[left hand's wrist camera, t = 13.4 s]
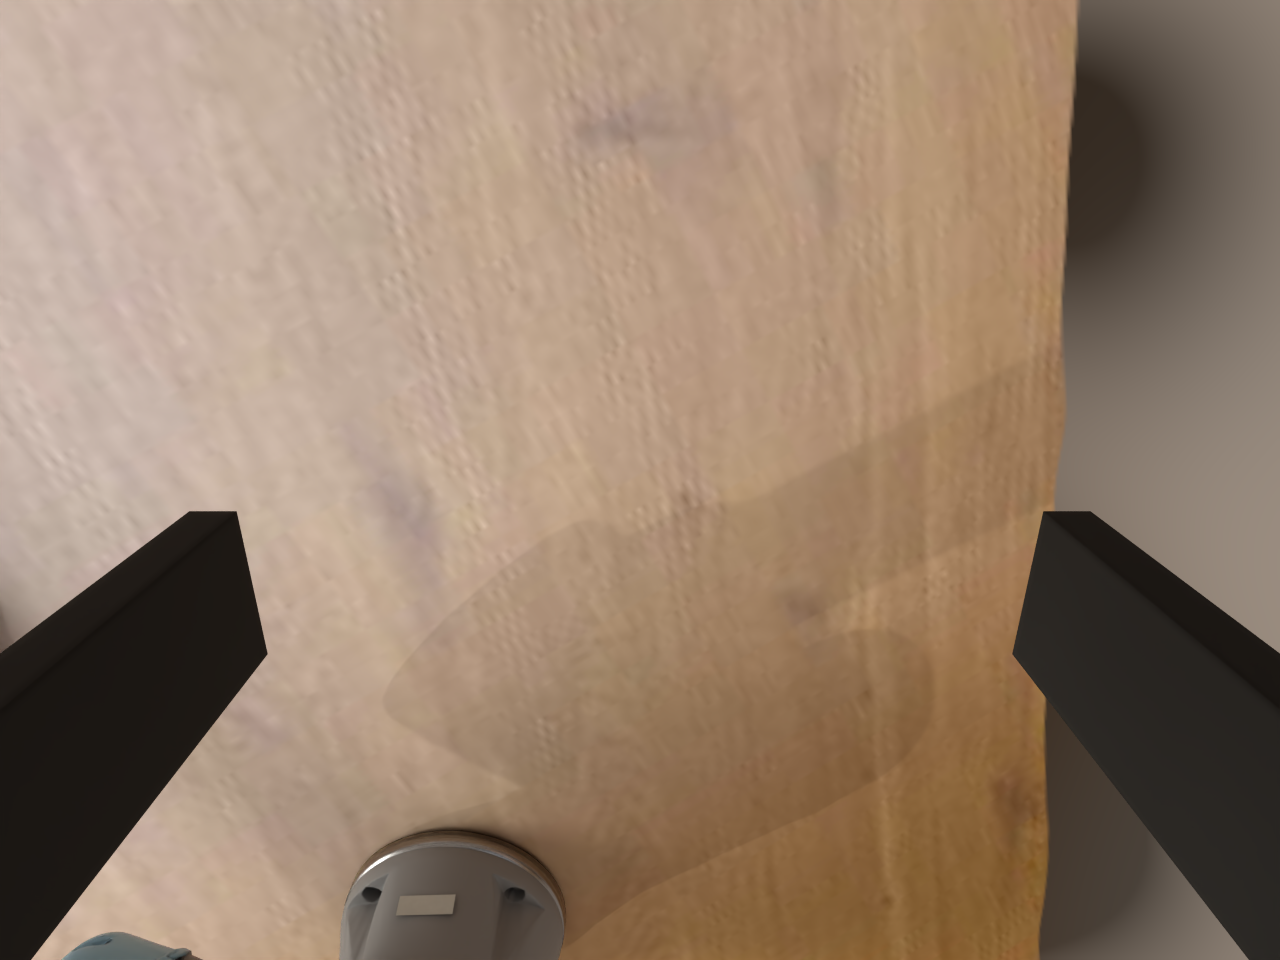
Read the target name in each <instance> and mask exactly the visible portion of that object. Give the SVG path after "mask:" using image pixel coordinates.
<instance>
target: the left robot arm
mask: <svg viewBox="0 0 1280 960" xmlns="http://www.w3.org/2000/svg"><path fill="white" fill-rule="evenodd" d="M266 655H267V649H266V645H265V640H264V635H263V631H262V626H261V622H260V617H259V612H258V608H257V603H256V599H255V594H254V589H253V585H252V580H251V576H250V571H249V566H248V562H247V557H246V553H245V548H244V543H243V539H242V534H241V530H240V525H239V520H238V516H237V511H189V512H188V513H187V514H185V515H184V516H183V517H181V518H180V519H179V520H177V521H176V522H175V523H173V524H172V525H171V526H169V527H168V528H167V529H165V530H164V531H163V532H161V533H160V534H159V535H157V536H156V537H155V538H153V539H152V540H151V541H149V542H148V543H147V544H145V545H144V546H143V547H141V548H140V549H139V550H137V551H136V552H135V553H133V554H132V555H131V556H129V557H128V558H127V559H125V560H124V561H123V562H121V563H120V564H119V565H117V566H116V567H115V568H113V569H112V570H111V571H109V572H108V573H107V574H105V575H104V576H103V577H101V578H100V579H99V580H98V581H96V582H95V583H94V584H92V585H91V586H90V587H88V588H87V589H86V590H84V591H83V592H82V593H80V594H79V595H78V596H76V597H75V598H74V599H72V600H71V601H70V602H68V603H67V604H66V605H64V606H63V607H62V608H60V609H59V610H58V611H56V612H55V613H54V614H52V615H51V616H50V617H48V618H47V619H46V620H44V621H43V622H42V623H40V624H39V625H38V626H36V627H35V628H34V629H32V630H31V631H30V632H28V633H27V634H26V635H24V636H23V637H22V638H20V639H19V640H18V641H16V642H15V643H14V644H12V645H11V646H10V647H8V648H7V649H6V650H4V651H3V652H2V653H0V960H31V959H32V958H33V957H34V955H35V954H36V953H37V951H38V950H39V949H40V947H41V946H42V945H43V944H44V942H45V941H46V940H47V938H48V937H49V936H50V935H51V933H52V932H53V931H54V929H55V928H56V927H57V926H58V924H59V923H60V922H61V920H62V919H63V918H64V916H65V915H66V914H67V913H68V911H69V910H70V909H71V907H72V906H73V905H74V904H75V902H76V901H77V900H78V898H79V897H80V896H81V895H82V893H83V892H84V891H85V889H86V888H87V887H88V885H89V884H90V883H91V882H92V880H93V879H94V878H95V876H96V875H97V874H98V873H99V871H100V870H101V869H102V867H103V866H104V865H105V863H106V862H107V861H108V860H109V858H110V857H111V856H112V854H113V853H114V852H115V851H116V849H117V848H118V847H119V845H120V844H121V843H122V842H123V840H124V839H125V838H126V836H127V835H128V834H129V832H130V831H131V830H132V829H133V827H134V826H135V825H136V823H137V822H138V821H139V820H140V818H141V817H142V816H143V814H144V813H145V812H146V811H147V809H148V808H149V807H150V805H151V804H152V803H153V801H154V800H155V799H156V798H157V796H158V795H159V794H160V792H161V791H162V790H163V789H164V787H165V786H166V785H167V783H168V782H169V781H170V780H171V778H172V777H173V776H174V774H175V773H176V772H177V770H178V769H179V768H180V767H181V765H182V764H183V763H184V761H185V760H186V759H187V758H188V756H189V755H190V754H191V752H192V751H193V750H194V749H195V747H196V746H197V745H198V743H199V742H200V741H201V739H202V738H203V737H204V736H205V734H206V733H207V732H208V730H209V729H210V728H211V727H212V725H213V724H214V723H215V721H216V720H217V719H218V718H219V716H220V715H221V714H222V712H223V711H224V710H225V708H226V707H227V706H228V705H229V703H230V702H231V701H232V699H233V698H234V697H235V696H236V694H237V693H238V692H239V690H240V689H241V688H242V686H243V685H244V684H245V683H246V681H247V680H248V679H249V677H250V676H251V675H252V674H253V672H254V671H255V670H256V668H257V667H258V666H259V665H260V663H261V662H262V661H263V659H264V658H265V657H266ZM1013 655H1014V657H1015V658H1016V659H1017V661H1018V662H1019V663H1020V665H1021V666H1022V667H1023V668H1024V670H1025V671H1026V672H1027V674H1028V675H1029V676H1030V677H1031V679H1032V680H1033V681H1034V683H1035V684H1036V685H1037V686H1038V688H1039V689H1040V690H1041V692H1042V693H1043V694H1044V696H1045V697H1046V698H1047V699H1048V701H1049V702H1050V703H1051V705H1052V706H1053V707H1054V708H1055V710H1056V711H1057V712H1058V714H1059V715H1060V716H1061V718H1062V719H1063V720H1064V721H1065V723H1066V724H1067V725H1068V727H1069V728H1070V729H1071V730H1072V732H1073V733H1074V734H1075V736H1076V737H1077V738H1078V739H1079V741H1080V742H1081V743H1082V745H1083V746H1084V747H1085V749H1086V750H1087V751H1088V752H1089V754H1090V755H1091V756H1092V758H1093V759H1094V760H1095V761H1096V763H1097V764H1098V765H1099V767H1100V768H1101V769H1102V770H1103V772H1104V773H1105V774H1106V776H1107V777H1108V778H1109V779H1110V781H1111V782H1112V783H1113V785H1114V786H1115V787H1116V789H1117V790H1118V791H1119V792H1120V794H1121V795H1122V796H1123V798H1124V799H1125V800H1126V801H1127V803H1128V804H1129V805H1130V807H1131V808H1132V809H1133V811H1134V812H1135V813H1136V814H1137V816H1138V817H1139V818H1140V820H1141V821H1142V822H1143V823H1144V825H1145V826H1146V827H1147V829H1148V830H1149V831H1150V832H1151V834H1152V835H1153V836H1154V838H1155V839H1156V840H1157V842H1158V843H1159V844H1160V845H1161V847H1162V848H1163V849H1164V851H1165V852H1166V853H1167V854H1168V856H1169V857H1170V858H1171V860H1172V861H1173V862H1174V863H1175V865H1176V866H1177V867H1178V869H1179V870H1180V871H1181V872H1182V874H1183V875H1184V876H1185V878H1186V879H1187V880H1188V882H1189V883H1190V884H1191V885H1192V887H1193V888H1194V889H1195V891H1196V892H1197V893H1198V894H1199V896H1200V897H1201V898H1202V900H1203V901H1204V902H1205V904H1206V905H1207V906H1208V907H1209V909H1210V910H1211V911H1212V913H1213V914H1214V915H1215V916H1216V918H1217V919H1218V920H1219V922H1220V923H1221V924H1222V926H1223V927H1224V928H1225V929H1226V931H1227V932H1228V933H1229V935H1230V936H1231V937H1232V938H1233V940H1234V941H1235V942H1236V944H1237V945H1238V946H1239V947H1240V949H1241V950H1242V951H1243V953H1244V954H1245V955H1246V957H1247V958H1248V959H1249V960H1280V653H1278V652H1277V651H1276V650H1274V649H1273V648H1272V647H1270V646H1269V645H1268V644H1266V643H1265V642H1264V641H1262V640H1261V639H1260V638H1258V637H1257V636H1256V635H1254V634H1253V633H1252V632H1250V631H1249V630H1248V629H1246V628H1245V627H1244V626H1242V625H1241V624H1240V623H1238V622H1237V621H1236V620H1234V619H1233V618H1232V617H1230V616H1229V615H1228V614H1226V613H1225V612H1224V611H1222V610H1221V609H1220V608H1218V607H1217V606H1216V605H1214V604H1213V603H1212V602H1210V601H1209V600H1208V599H1206V598H1205V597H1204V596H1202V595H1201V594H1200V593H1198V592H1197V591H1196V590H1194V589H1193V588H1192V587H1190V586H1189V585H1188V584H1186V583H1185V582H1184V581H1182V580H1181V579H1180V578H1178V577H1177V576H1176V575H1175V574H1173V573H1172V572H1170V571H1169V570H1168V569H1167V568H1165V567H1164V566H1163V565H1161V564H1160V563H1159V562H1157V561H1156V560H1155V559H1153V558H1152V557H1150V556H1149V555H1148V554H1146V553H1145V552H1144V551H1143V550H1141V549H1140V548H1139V547H1137V546H1136V545H1135V544H1133V543H1132V542H1131V541H1129V540H1128V539H1127V538H1125V537H1124V536H1123V535H1121V534H1120V533H1119V532H1117V531H1116V530H1115V529H1113V528H1112V527H1111V526H1109V525H1108V524H1107V523H1105V522H1104V521H1103V520H1101V519H1100V518H1099V517H1097V516H1096V515H1095V514H1093V513H1092V512H1090V511H1043V516H1042V520H1041V525H1040V530H1039V534H1038V539H1037V543H1036V548H1035V553H1034V557H1033V562H1032V566H1031V571H1030V576H1029V580H1028V585H1027V589H1026V594H1025V599H1024V603H1023V608H1022V612H1021V617H1020V622H1019V626H1018V631H1017V635H1016V640H1015V645H1014V649H1013ZM565 919H566V910H565V903H564V899H563V896H562V893H561V891H560V888H559V887H558V885H557V883H556V881H555V880H554V878H553V877H552V876H551V874H550V873H549V872H548V871H547V870H546V868H545V867H544V866H542V865H541V864H540V863H539V862H538V861H537V860H536V859H534V858H533V857H532V856H530V855H529V854H527V853H526V852H524V851H523V850H521V849H519V848H517V847H515V846H514V845H512V844H509V843H507V842H505V841H502V840H499V839H496V838H493V837H490V836H486V835H482V834H477V833H472V832H464V831H433V832H425V833H420V834H415V835H412V836H408V837H405V838H402V839H399V840H397V841H395V842H393V843H391V844H388V845H387V846H385V847H383V848H382V849H380V850H379V851H377V852H376V853H375V854H373V855H372V856H371V857H370V858H369V859H368V860H367V861H366V862H365V863H364V865H363V866H362V867H361V868H360V870H359V872H358V873H357V875H356V877H355V879H354V881H353V884H352V886H351V889H350V891H349V894H348V896H347V899H346V903H345V907H344V911H343V915H342V921H341V936H340V957H339V960H558V958H559V955H560V951H561V947H562V944H563V938H564V930H565ZM62 960H202V959H200V958H197V957H195V956H193V955H192V953H191V951H190V950H188V949H186V948H180V949H172V948H169V947H166V946H163V945H160V944H157V943H154V942H151V941H148V940H145V939H143V938H140V937H137V936H134V935H131V934H128V933H124V932H110V933H105V934H101V935H98V936H96V937H93V938H91V939H89V940H87V941H85V942H84V943H82V944H80V945H79V946H78V947H76V948H75V949H74V950H72V951H71V952H70V953H69V954H68V955H66V956H65V957H64V958H63V959H62Z"/></svg>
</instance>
